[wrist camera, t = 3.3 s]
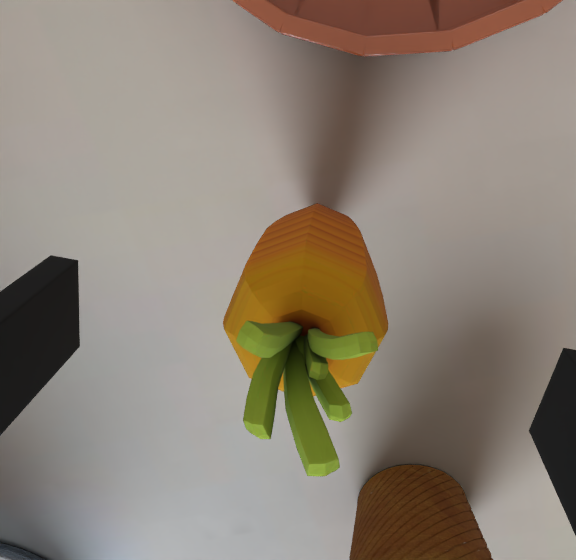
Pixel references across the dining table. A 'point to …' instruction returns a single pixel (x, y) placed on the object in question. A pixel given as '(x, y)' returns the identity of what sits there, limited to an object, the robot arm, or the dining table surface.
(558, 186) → the dining table surface
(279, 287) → the carrot
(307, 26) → the bowl
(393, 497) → the disposable coffee cup
